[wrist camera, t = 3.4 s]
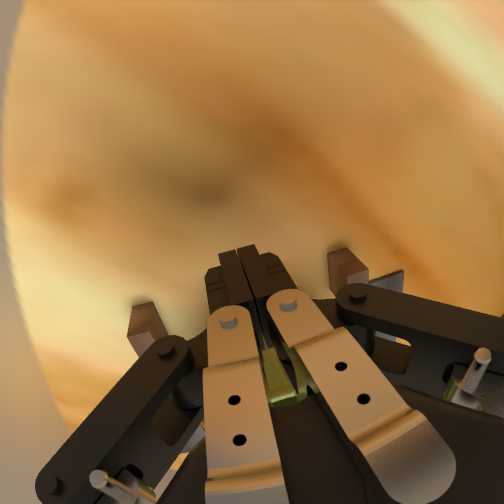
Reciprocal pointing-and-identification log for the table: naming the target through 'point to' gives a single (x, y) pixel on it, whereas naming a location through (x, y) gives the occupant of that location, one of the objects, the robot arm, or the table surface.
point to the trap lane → (340, 274)
